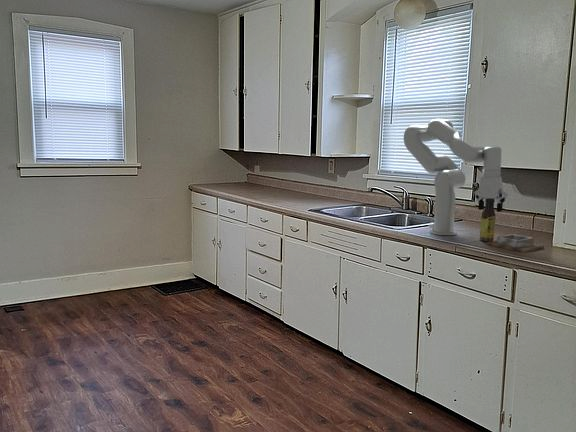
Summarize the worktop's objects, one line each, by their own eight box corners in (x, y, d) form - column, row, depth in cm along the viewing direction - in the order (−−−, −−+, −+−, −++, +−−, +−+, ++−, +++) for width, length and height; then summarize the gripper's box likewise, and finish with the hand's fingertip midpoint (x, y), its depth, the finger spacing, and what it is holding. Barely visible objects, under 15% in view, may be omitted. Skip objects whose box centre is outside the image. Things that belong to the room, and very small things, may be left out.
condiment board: (487, 244, 244) (487, 235, 243) (507, 241, 252) (507, 232, 252) (523, 252, 229) (524, 242, 228) (543, 248, 237) (544, 239, 237)
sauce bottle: (488, 242, 249) (491, 199, 246) (476, 240, 254) (479, 198, 251) (496, 241, 253) (499, 198, 250) (485, 238, 258) (487, 197, 254)
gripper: (470, 173, 253) (469, 209, 256) (503, 174, 239) (501, 213, 241) (480, 172, 257) (479, 208, 260) (513, 174, 243) (511, 211, 245)
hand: (490, 210), depth 250 cm, fingers open, 9 cm apart
